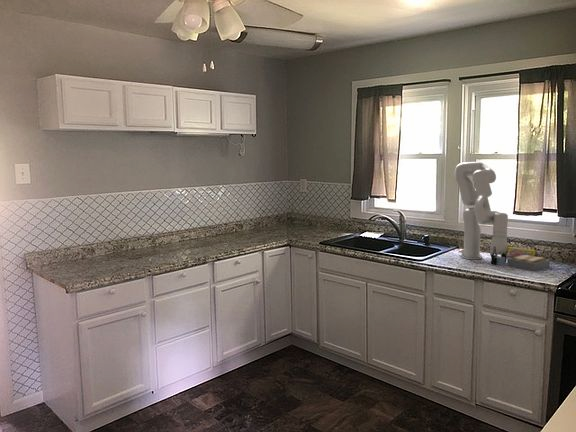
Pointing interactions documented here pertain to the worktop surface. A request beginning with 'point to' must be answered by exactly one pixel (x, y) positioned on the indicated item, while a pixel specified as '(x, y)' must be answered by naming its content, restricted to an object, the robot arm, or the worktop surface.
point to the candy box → (519, 252)
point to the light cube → (500, 260)
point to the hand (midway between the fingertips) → (498, 263)
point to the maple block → (529, 258)
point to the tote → (528, 264)
